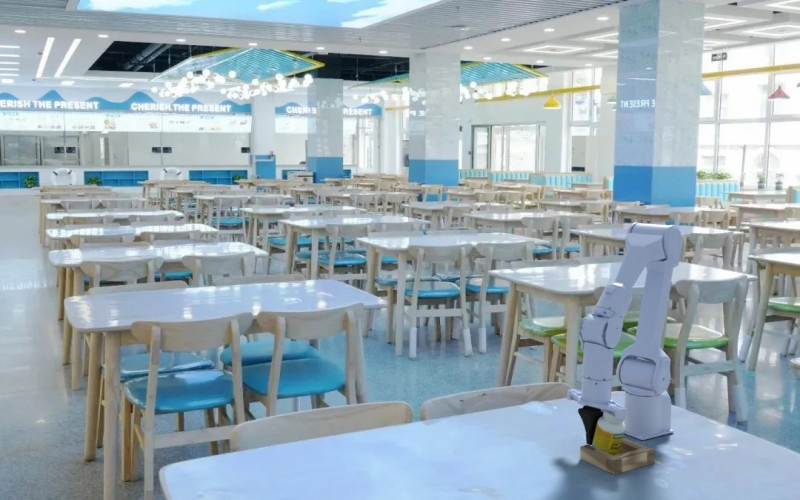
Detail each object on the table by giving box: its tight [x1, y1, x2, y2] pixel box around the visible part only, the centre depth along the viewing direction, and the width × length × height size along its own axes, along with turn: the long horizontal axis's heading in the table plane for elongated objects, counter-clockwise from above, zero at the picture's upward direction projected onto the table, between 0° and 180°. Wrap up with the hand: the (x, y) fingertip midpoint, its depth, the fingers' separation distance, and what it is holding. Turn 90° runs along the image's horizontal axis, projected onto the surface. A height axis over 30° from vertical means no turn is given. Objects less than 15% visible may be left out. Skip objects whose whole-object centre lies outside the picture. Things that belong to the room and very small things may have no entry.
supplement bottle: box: [591, 410, 626, 456], centre depth 159 cm, size 5×5×10 cm
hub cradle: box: [579, 437, 656, 475], centre depth 158 cm, size 10×9×3 cm
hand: (593, 444), depth 162 cm, fingers closed, pressing on supplement bottle
